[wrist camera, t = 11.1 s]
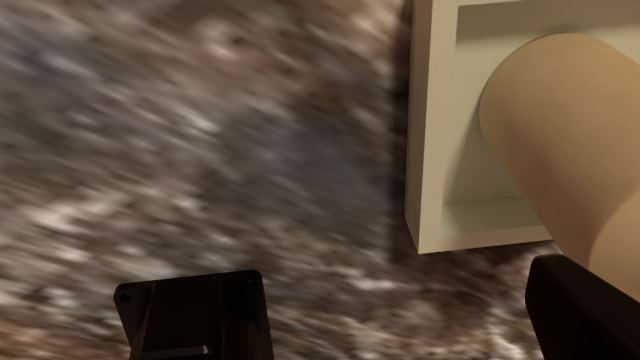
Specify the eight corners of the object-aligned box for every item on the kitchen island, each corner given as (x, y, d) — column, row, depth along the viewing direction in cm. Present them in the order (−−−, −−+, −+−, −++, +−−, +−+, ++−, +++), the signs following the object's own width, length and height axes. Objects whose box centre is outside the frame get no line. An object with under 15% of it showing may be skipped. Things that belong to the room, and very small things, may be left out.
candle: (585, 166, 23) (768, 362, 15) (459, 157, 23) (580, 361, 14) (644, 37, 21) (911, 194, 12) (502, 21, 20) (686, 179, 11)
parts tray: (639, 191, 25) (673, 226, 23) (404, 216, 25) (418, 253, 23) (720, -64, 19) (776, -48, 17) (413, -39, 19) (433, -20, 17)
